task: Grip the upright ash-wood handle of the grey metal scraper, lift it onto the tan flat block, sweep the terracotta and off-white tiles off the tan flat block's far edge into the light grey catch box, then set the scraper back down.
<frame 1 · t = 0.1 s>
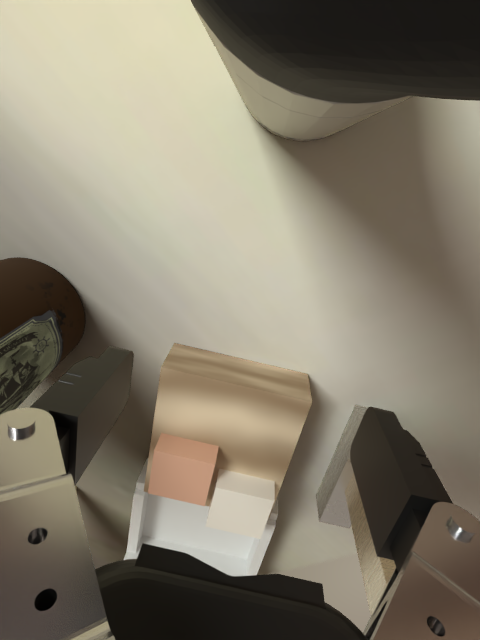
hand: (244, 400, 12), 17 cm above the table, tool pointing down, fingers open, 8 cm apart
catch box: (203, 508, 39), on the table
tan flat block: (225, 420, 34), on the table
offwhite tile: (240, 494, 32), point 4 cm above the table, touching tan flat block
scraper: (349, 456, 35), on the table
brown rum bottle: (36, 309, 31), on the table
terracotta tile: (185, 460, 31), point 4 cm above the table, touching tan flat block
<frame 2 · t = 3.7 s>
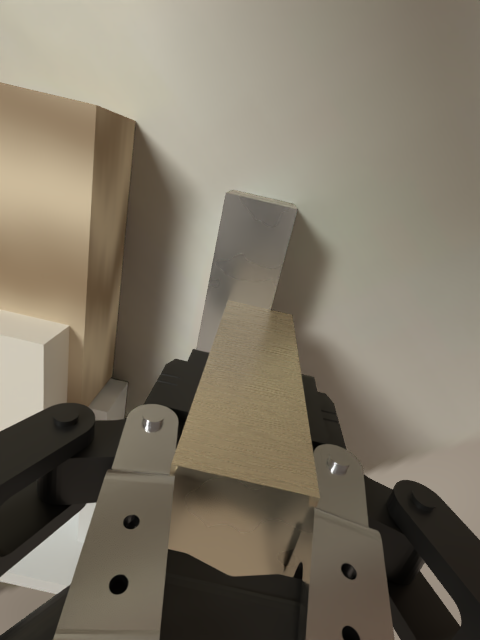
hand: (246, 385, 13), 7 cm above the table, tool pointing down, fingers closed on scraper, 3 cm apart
catch box: (18, 427, 24), on the table
tan flat block: (12, 240, 19), on the table
offwhite tile: (17, 360, 17), point 4 cm above the table, touching tan flat block
scraper: (237, 309, 20), on the table, touching gripper
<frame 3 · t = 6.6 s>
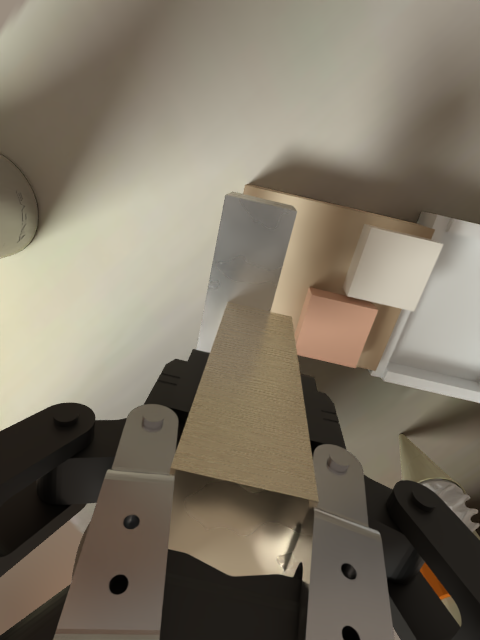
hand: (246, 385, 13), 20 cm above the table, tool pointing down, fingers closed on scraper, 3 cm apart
catch box: (449, 305, 32), on the table
reusable coffee cup: (432, 535, 42), on the table
tan flat block: (310, 272, 32), on the table
ice cream cone: (400, 434, 37), on the table
offwhite tile: (385, 264, 27), point 4 cm above the table, touching tan flat block
scraper: (237, 311, 20), point 13 cm above the table, touching gripper
terracotta tile: (330, 322, 29), point 4 cm above the table, touching tan flat block
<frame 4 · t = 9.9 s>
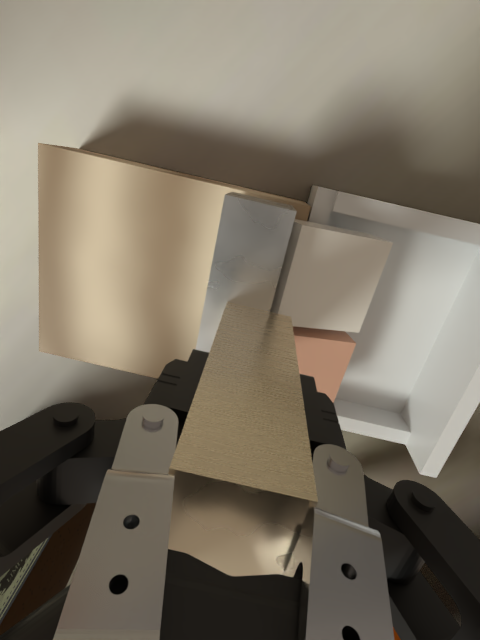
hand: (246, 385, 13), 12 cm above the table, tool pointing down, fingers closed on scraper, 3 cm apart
catch box: (362, 312, 24), on the table
tan flat block: (177, 269, 24), on the table
offwhite tile: (316, 271, 20), point 4 cm above the table, tilted 19°, touching scraper
scraper: (236, 311, 20), point 5 cm above the table, touching gripper, offwhite tile, terracotta tile
brown rum bottle: (68, 453, 31), on the table
terracotta tile: (290, 359, 22), point 4 cm above the table, tilted 15°, touching tan flat block, scraper
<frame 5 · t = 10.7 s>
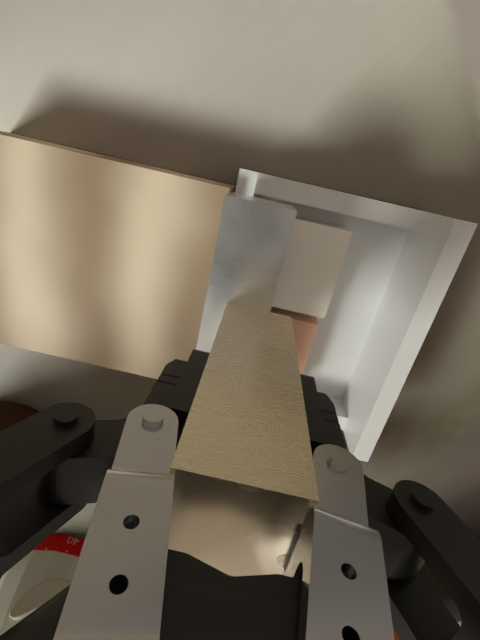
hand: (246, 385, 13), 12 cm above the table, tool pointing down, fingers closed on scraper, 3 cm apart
catch box: (301, 299, 24), on the table
tan flat block: (115, 256, 24), on the table
offwhite tile: (291, 259, 21), point 1 cm above the table, touching catch box
scraper: (236, 311, 20), point 5 cm above the table, touching gripper
kitchen timer: (71, 578, 38), on the table
brown rum bottle: (20, 444, 31), on the table
terracotta tile: (266, 338, 24), point 1 cm above the table, touching catch box
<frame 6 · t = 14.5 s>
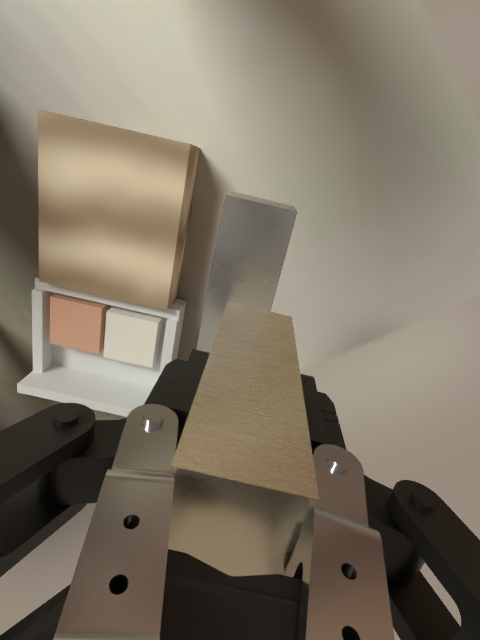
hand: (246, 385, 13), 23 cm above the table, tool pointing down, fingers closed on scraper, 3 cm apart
catch box: (115, 333, 39), on the table
tan flat block: (125, 214, 34), on the table
offwhite tile: (137, 332, 37), point 1 cm above the table, touching catch box
scraper: (237, 311, 20), point 16 cm above the table, touching gripper
terracotta tile: (84, 318, 37), point 1 cm above the table, touching catch box
when the fingers open (8 cm above the table, at t = 17.6 s): scraper stays where it is, on the table.
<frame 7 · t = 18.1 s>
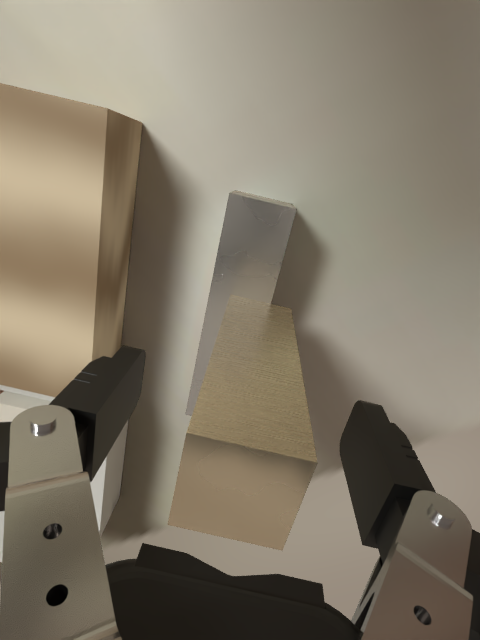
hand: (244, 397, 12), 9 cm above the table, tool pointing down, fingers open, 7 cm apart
catch box: (27, 418, 25), on the table
tan flat block: (24, 237, 20), on the table
offwhite tile: (54, 423, 23), point 1 cm above the table, touching catch box
scraper: (238, 304, 21), on the table
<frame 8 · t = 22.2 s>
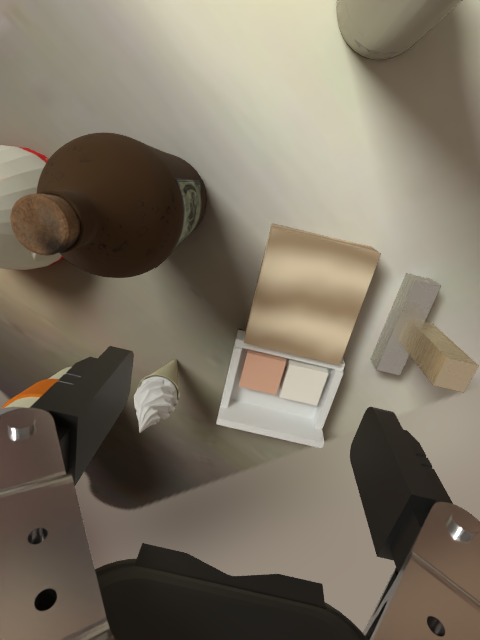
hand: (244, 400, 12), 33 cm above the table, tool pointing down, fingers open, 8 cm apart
catch box: (279, 376, 49), on the table
reusable coffee cup: (82, 392, 53), on the table
tan flat block: (304, 290, 45), on the table
ice cream cone: (175, 360, 50), on the table
offwhite tile: (302, 377, 47), point 1 cm above the table, touching catch box
scraper: (398, 320, 45), on the table
kitchen timer: (27, 209, 44), on the table
brown rum bottle: (168, 199, 42), on the table
terracotta tile: (262, 366, 47), point 1 cm above the table, touching catch box
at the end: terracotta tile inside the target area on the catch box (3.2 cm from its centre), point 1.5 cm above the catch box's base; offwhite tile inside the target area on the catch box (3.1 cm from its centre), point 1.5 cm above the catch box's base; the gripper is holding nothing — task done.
